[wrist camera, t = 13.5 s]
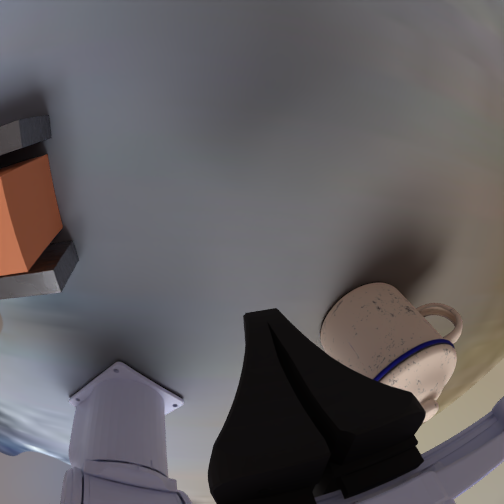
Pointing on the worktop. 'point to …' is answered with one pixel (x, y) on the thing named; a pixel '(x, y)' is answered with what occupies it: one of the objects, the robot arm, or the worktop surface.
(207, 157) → the worktop surface
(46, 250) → the coupler channel
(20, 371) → the worktop surface
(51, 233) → the block
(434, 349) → the teacup with lid
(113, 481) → the robot arm
